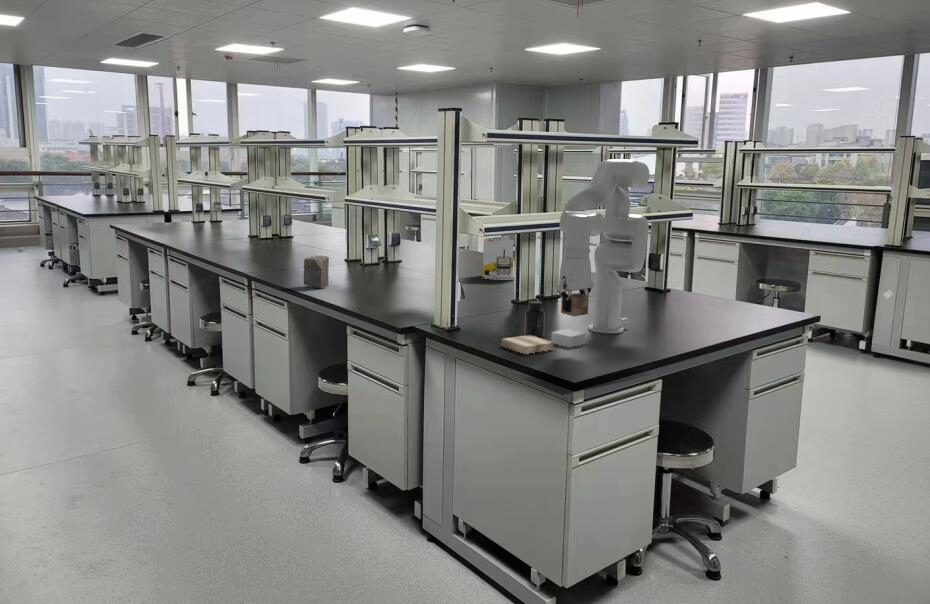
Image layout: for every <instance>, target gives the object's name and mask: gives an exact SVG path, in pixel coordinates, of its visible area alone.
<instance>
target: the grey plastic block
mask: <svg viewBox="0 0 930 604" xmlns="http://www.w3.org/2000/svg"><path fill="white" fill-rule="evenodd" d="M550 341H551V342H554V345H556V344H558V345H557V346H561V345H563V346H562V347H565V346H567V347H566V348H569V347H572V348H574V347H573V346H576V347H579V346H583V345H585V344H586V333H585V332H582V331H578V330H572V329H567V328H566V329H565V328H564V329H561V330H560V329H559V330H556V331H552V332H551V340H550ZM582 344H583V345H582ZM578 345H579V346H578Z"/></svg>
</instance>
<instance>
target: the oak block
mask: <svg viewBox="0 0 930 604" xmlns="http://www.w3.org/2000/svg"><path fill="white" fill-rule="evenodd" d="M501 347H502V348H504V347H505V349H507V348H508V349H507V350H510V349H511V350H510V351H514V352H515V351H516V352H515V353H518V352H520V353H519V354H521V353H523V354H522V355H524V354H527V355H530V354H529V353H533V354H536V353H535V352H539V353H543V352H542V351H545V352H549V351H548V350H551V351H554V350H555V344H554V342H551V340H548V339H544V338H543V337H540V338H539V337H536V336H532V335H525V334H524V335H518V336H513V337H504V338H501Z"/></svg>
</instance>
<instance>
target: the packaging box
mask: <svg viewBox="0 0 930 604" xmlns="http://www.w3.org/2000/svg"><path fill="white" fill-rule="evenodd" d="M513 244H514V236H504V237H494V238H486V239H484V238H483V248H482V249H483V251H482V252H483V253H482V255H483V256H482V261H483V262H482V278H483V277H513Z"/></svg>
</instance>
